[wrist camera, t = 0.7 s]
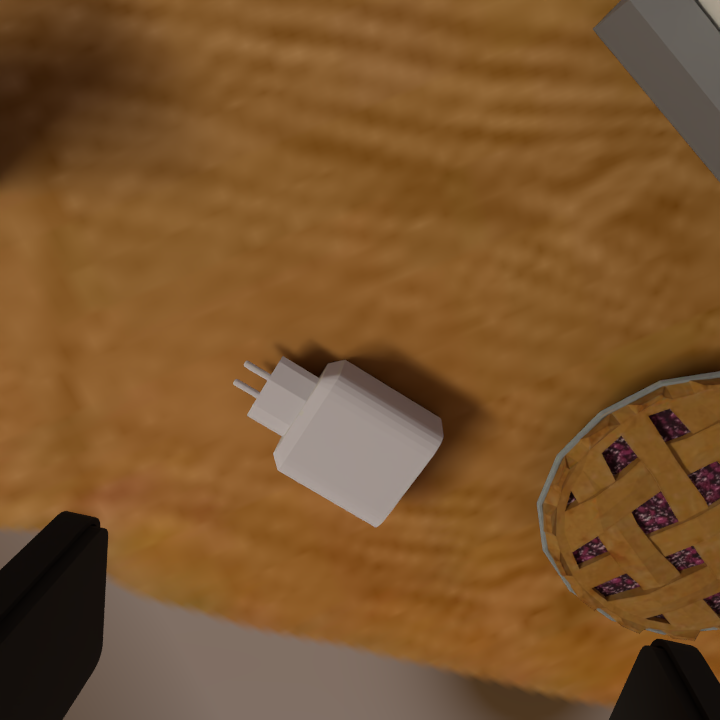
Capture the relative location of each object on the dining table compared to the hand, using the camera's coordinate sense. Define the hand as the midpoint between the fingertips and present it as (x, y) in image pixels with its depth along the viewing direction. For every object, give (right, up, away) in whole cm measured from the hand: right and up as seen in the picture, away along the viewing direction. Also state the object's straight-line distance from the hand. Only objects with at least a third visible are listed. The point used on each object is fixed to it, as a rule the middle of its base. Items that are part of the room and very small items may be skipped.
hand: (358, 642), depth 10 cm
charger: (-2, +1, +35) cm, 35 cm away
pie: (+25, -6, +35) cm, 43 cm away
